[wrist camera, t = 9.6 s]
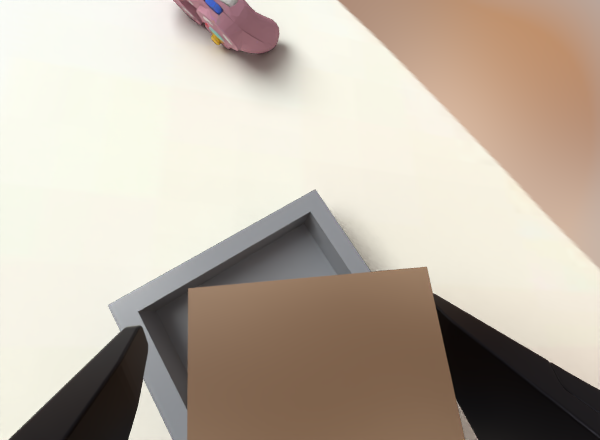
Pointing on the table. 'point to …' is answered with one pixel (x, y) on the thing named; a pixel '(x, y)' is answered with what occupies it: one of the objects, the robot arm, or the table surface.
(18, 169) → the table surface
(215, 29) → the video game controller
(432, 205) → the table surface
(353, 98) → the table surface
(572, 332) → the table surface
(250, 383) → the walnut handle block
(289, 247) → the tray
